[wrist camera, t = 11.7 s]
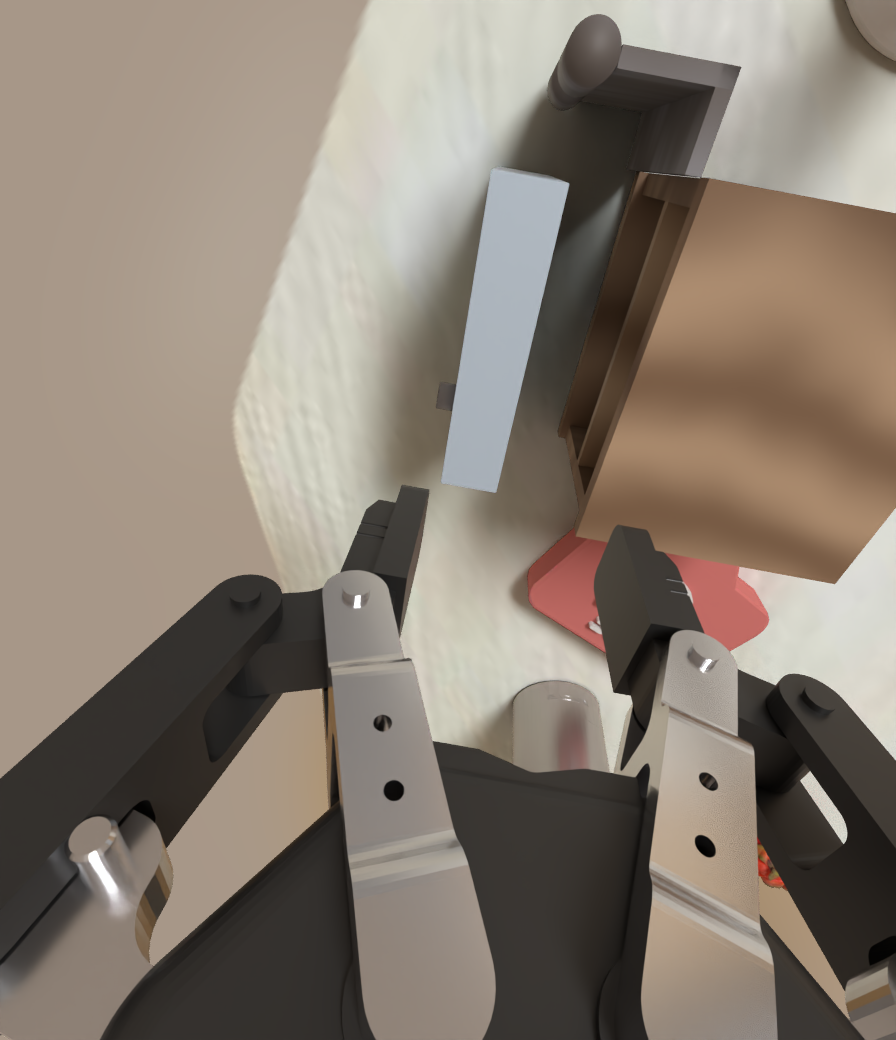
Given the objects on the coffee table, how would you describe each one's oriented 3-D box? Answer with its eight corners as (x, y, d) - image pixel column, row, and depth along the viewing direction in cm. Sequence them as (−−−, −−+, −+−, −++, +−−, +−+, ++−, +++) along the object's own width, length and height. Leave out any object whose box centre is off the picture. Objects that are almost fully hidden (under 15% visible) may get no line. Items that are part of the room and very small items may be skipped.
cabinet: (744, 465, 38) (835, 584, 27) (479, 416, 38) (467, 516, 27) (928, 135, 27) (1203, 120, 16) (551, 64, 27) (578, 1, 16)
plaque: (816, 609, 41) (665, 695, 48) (794, 576, 44) (655, 663, 52) (657, 485, 36) (517, 603, 44) (646, 459, 39) (517, 573, 47)
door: (550, 175, 29) (569, 183, 20) (500, 405, 37) (496, 492, 28) (477, 162, 29) (459, 164, 20) (442, 395, 37) (418, 479, 28)
